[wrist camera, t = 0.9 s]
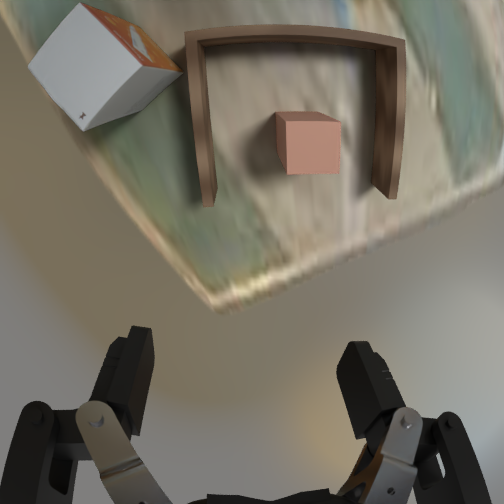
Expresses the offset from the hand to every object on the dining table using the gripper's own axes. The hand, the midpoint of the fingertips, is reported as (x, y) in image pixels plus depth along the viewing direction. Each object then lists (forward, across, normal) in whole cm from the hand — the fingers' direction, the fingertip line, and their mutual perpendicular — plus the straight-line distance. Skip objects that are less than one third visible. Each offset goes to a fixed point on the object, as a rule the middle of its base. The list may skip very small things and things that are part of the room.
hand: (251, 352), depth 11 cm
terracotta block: (+23, -5, -7) cm, 25 cm away
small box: (+23, +12, -13) cm, 29 cm away
